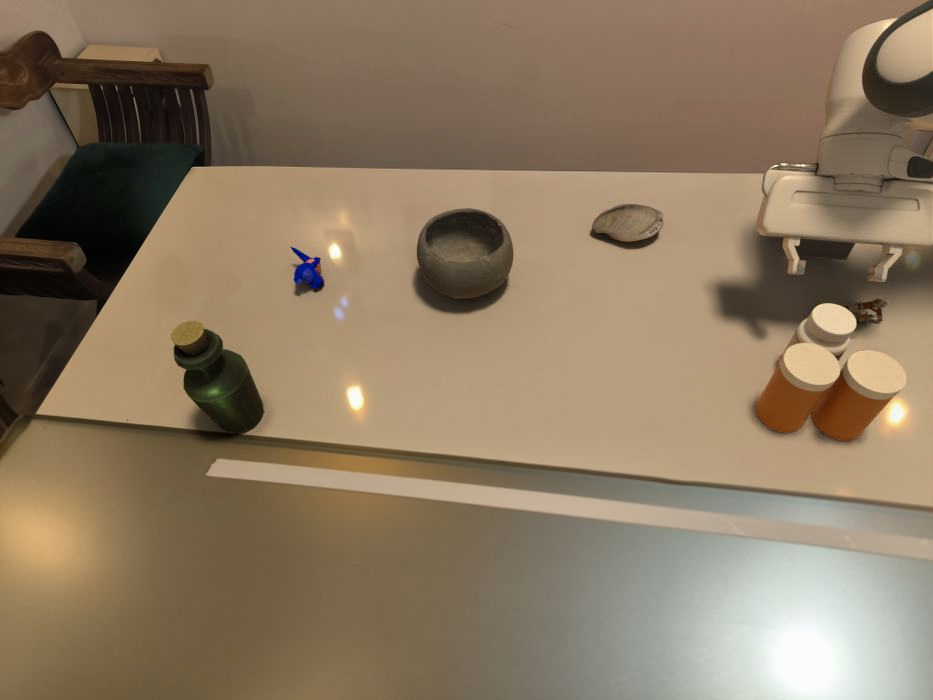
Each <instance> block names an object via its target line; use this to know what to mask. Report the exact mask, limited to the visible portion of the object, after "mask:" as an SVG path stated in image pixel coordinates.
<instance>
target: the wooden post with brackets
mask: <svg viewBox="0 0 933 700" xmlns="http://www.w3.org/2000/svg"><path fill="white" fill-rule="evenodd" d="M889 304H890V300H889V299H885V298H884V297H882V298H880V297H879V298H875V299H872V300H871V301H864V302H863V301H859V302H858V301H856V302H853V303H847V304H843V305H841V306H842V307H844V308H846V309H847V310H849V311H850V312H851V313H856V312H857V315H854V317H855V319H856V321H858V322H859V323H861V322H866V321H867V323H868V322H869V321H870V319H873V318H877V322H883V318H884V316H883V311H882V308H886V306H887V305H888V306H889ZM864 310H870V311H872V312H874V313H875V314H872V313H870V314H869V313H868V311H865V313H858V312H859V311H860V312H863V311H864Z"/></svg>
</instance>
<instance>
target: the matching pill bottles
mask: <svg viewBox="0 0 933 700" xmlns="http://www.w3.org/2000/svg"><path fill="white" fill-rule="evenodd" d="M784 351H785V350H784ZM783 353H784V352H783ZM780 358H781V357H780ZM778 364H779V363H778ZM778 364H777V367H776V369H775V370H774V372H773V374H772V376H771V377H770V379H769V380H768V382H767V385H766V386H765V388H764V389H763V391H762V393H761V395H760V396H759V398H758V400H757V401H756V404H755V413H756V416H757V418H758V419H759V421H760V422H761V423H762V424H763V425H765V427H767V428H769V429H771V430H773V431H775V432H778V433H783V434H784V433H787V434H788V433H793V432H796V431H798V430H800V428H802V427H803V425H804V424H805V422H806V421H807V419H808V418H809V417H810V415H811V417H812V418H811V419H812V422H813V423H814V425H815V427H816V428H817V429H818V430H819V432H821V433H822V434H824V435H825V436H827V437H829V438H831V439H834V440H836V441H845V442H847V441H852V440H855V439H857V438H858V437H859V436H860V435H861V434H862V433H863V432H864V431H865V430H866V428H867V427H869V426H870V424H871V423H872V422H873V421H874V420H875V419H876V417H877V416H878V415H879V414H880V413H881V412H882V411H883V410H884V408H885V407H886V406H887V405H888V404H889V403H890V402H891V401H892V399H894V397H896V396H897V395H898V394H899V393H900V392H901V391H902V389H904V388H905V386H906V384H907V374H906V371H905V369H904V367H903V366H902V365H901V364H900V362H898V361H897V360H896V359H895V358H893V357H891V356H890V355H888V354H886V353H884V352H881V351H877V350H871V349H864V350H859V351H855V352H853V353H852V354H850V356H849V358H847V360H846V361H845V363H844V364H843V367H842V369H841V365H840V363H839V361H838V360H837V359H836V358H835V356H834V355H833V354H832V353H830V352H829V351H828V350H826V349H825V348H823V347H820V346H818V345H815V344H810V343H798V344H795V345H792V346H790V347H789V348H788V349H787V350H786V351H785V353H784V355H783V357H782V358H781V361H780V364H779V365H778Z"/></svg>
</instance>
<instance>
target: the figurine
mask: <svg viewBox="0 0 933 700" xmlns="http://www.w3.org/2000/svg"><path fill="white" fill-rule="evenodd" d="M290 249H291V251H292V252H293V253H294V254H295V255H296V256H297V257H298V258H299V259H300V260H301V261H302V263H300V264H298V266H296V268H295V270H294V272H293V276H294V277H293V282H294V284H296V285H299V284H301V283H302V284H305V285H308V286H310V287H311V288H312V289H313V290H318V289H320V288H321V287H323V286H324V285H325V279H324V277H323V276H322V275H321V274H320V272H321V270H322V265H321V260H322V258H321V257H318V256H315V257H310V256H309V255H307V254H305V253H304V252H302V251H301V250H300V249H298V248H296V247H293V246H290Z"/></svg>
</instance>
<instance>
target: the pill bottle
mask: <svg viewBox="0 0 933 700" xmlns="http://www.w3.org/2000/svg"><path fill="white" fill-rule="evenodd" d="M842 306H843V305H840V304H836V303H831V302H830V303H821V304H818V305H816V306H815V307H814V308H813V309H812V311H811V312H810V314H809V316H808V317H807V318H805V319H804V320H802V321H801V323H800V324H799V325H798V326H797V328H796V330H794V333H793V335H792V336H791V339H790V340H789V342H788V344H787V346H786V347H785V349H784V350H783V353H782V354H781V356H780V358H779V359H778V364H777V366H778V365H779V364H780V361H781V358H782V357H783V355H784V353H785V351H786V350H787V349H788V348H789V347H790V346H792V345H795V344H798V343H810V344H815V345H818V346H820V347H823V348H825V349H826V350H828V351H829V352H830V353H832V354H833V355H834V356H835V358H836V359H837V360H838V362H839V361H840V360H841V358H842V357H843V355H844V354H845V353H846V351H847V350H848V348H849V346H850V343H851V336H852V334H853V333H854V331H855V330H856V328H857V320H856V319H855V315H854V314H853V312H850V311H849V310H847V309H846V308H844V307H842Z"/></svg>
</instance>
